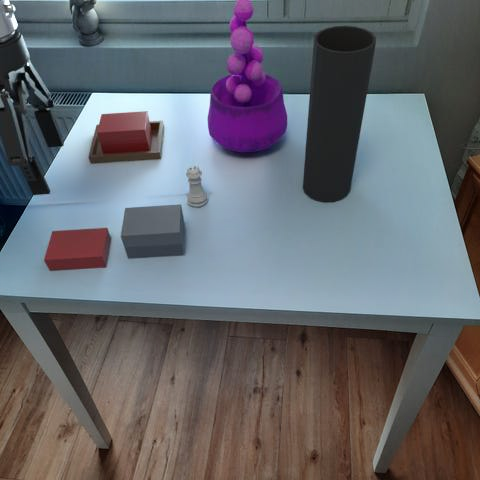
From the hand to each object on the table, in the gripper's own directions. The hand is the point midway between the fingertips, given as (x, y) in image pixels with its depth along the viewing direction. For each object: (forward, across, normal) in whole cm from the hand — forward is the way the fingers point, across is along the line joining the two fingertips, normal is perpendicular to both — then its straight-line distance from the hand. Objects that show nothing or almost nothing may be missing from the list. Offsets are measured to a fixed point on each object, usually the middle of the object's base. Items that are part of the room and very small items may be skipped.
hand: (49, 168), depth 81 cm
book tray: (+18, +32, -7) cm, 38 cm away
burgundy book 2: (+14, +32, -7) cm, 36 cm away
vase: (+18, +12, -52) cm, 56 cm away
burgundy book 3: (+17, +32, -7) cm, 37 cm away
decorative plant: (+18, +32, -36) cm, 51 cm away
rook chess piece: (+18, +10, -24) cm, 31 cm away
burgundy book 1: (+18, -3, 0) cm, 18 cm away
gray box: (+18, -2, -15) cm, 23 cm away
